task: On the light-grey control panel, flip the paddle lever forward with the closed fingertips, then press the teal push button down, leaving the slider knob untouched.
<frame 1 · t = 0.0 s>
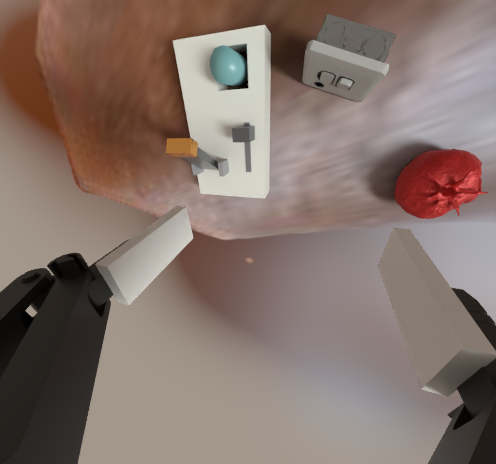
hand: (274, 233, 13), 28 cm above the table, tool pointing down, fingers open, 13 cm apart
slider: (243, 134, 31), point 6 cm above the table, slide at -2.5 cm
electrical switch: (338, 70, 29), on the table
lever: (198, 158, 32), point 9 cm above the table, hinge at -30.0°
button: (230, 68, 29), point 5 cm above the table, slide at 0.0 cm
pomegranate: (425, 177, 32), on the table
panel: (233, 127, 37), on the table
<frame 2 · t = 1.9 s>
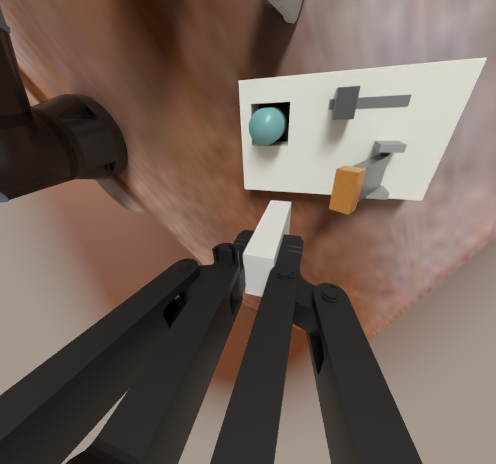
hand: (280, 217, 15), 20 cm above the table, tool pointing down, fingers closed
slider: (344, 103, 21), point 6 cm above the table, slide at -2.5 cm
lever: (364, 178, 21), point 9 cm above the table, hinge at -30.0°
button: (268, 125, 26), point 5 cm above the table, slide at 0.0 cm
panel: (330, 137, 28), on the table
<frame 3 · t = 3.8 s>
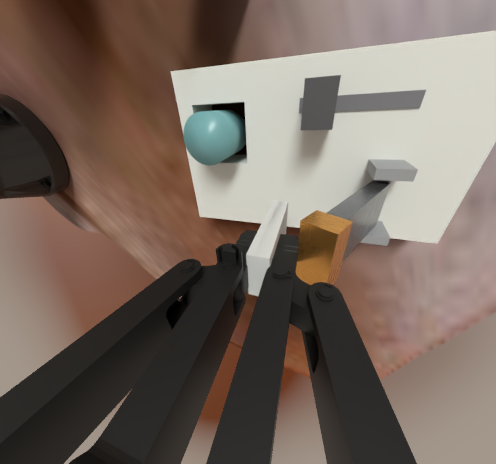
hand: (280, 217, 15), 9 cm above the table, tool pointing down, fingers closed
slider: (319, 104, 14), point 6 cm above the table, slide at -2.5 cm
lever: (353, 222, 14), point 9 cm above the table, hinge at -28.5°, touching gripper
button: (218, 136, 18), point 5 cm above the table, slide at 0.0 cm
panel: (309, 150, 20), on the table
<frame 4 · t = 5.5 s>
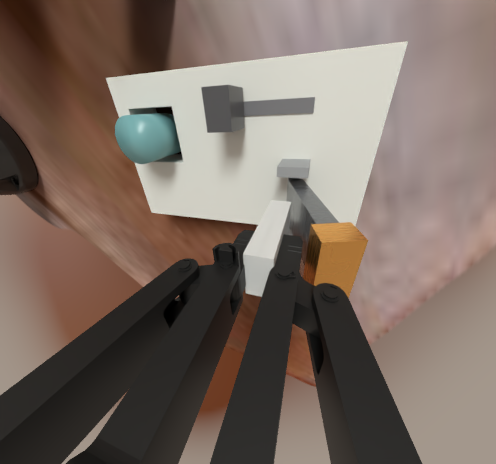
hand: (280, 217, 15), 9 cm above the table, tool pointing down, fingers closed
slider: (225, 109, 15), point 6 cm above the table, slide at -2.5 cm
lever: (306, 222, 14), point 10 cm above the table, hinge at 18.4°, touching gripper
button: (153, 137, 20), point 4 cm above the table, slide at 0.0 cm
panel: (245, 150, 22), on the table
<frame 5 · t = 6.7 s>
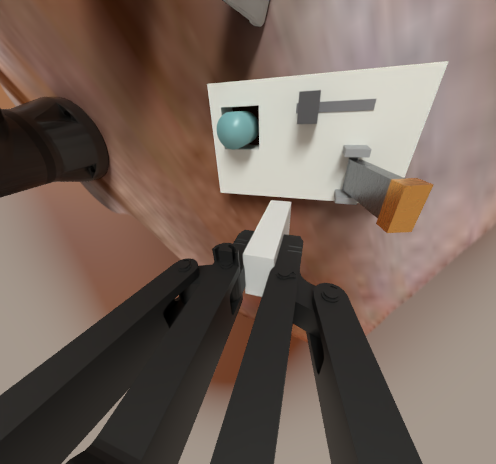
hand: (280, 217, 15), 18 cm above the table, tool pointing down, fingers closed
slider: (309, 107, 21), point 6 cm above the table, slide at -2.5 cm
lever: (371, 187, 20), point 10 cm above the table, hinge at 18.5°
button: (239, 129, 25), point 5 cm above the table, slide at 0.0 cm
panel: (304, 141, 28), on the table
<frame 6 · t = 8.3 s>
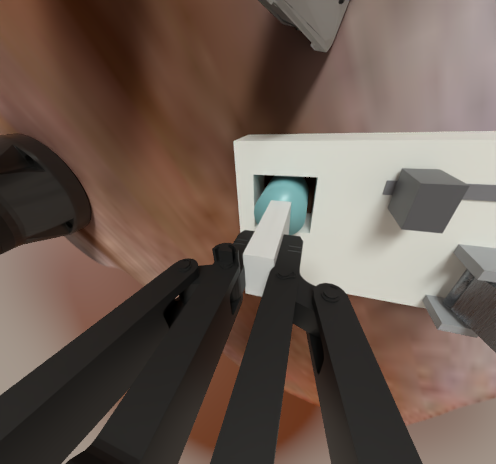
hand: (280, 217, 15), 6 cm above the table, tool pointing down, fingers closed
slider: (420, 198, 12), point 6 cm above the table, slide at -2.5 cm
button: (283, 202, 17), point 3 cm above the table, slide at 1.1 cm, touching gripper
panel: (371, 214, 19), on the table
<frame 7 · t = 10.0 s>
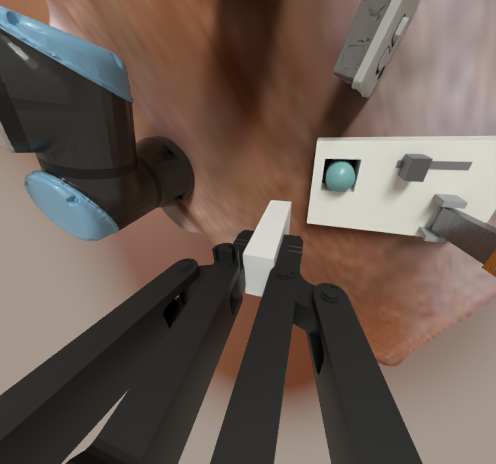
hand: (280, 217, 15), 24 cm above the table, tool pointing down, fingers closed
slider: (413, 167, 26), point 6 cm above the table, slide at -2.5 cm
electrical switch: (368, 53, 26), on the table
lever: (469, 235, 24), point 10 cm above the table, hinge at 18.5°
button: (339, 174, 31), point 3 cm above the table, slide at 1.3 cm
panel: (388, 183, 33), on the table
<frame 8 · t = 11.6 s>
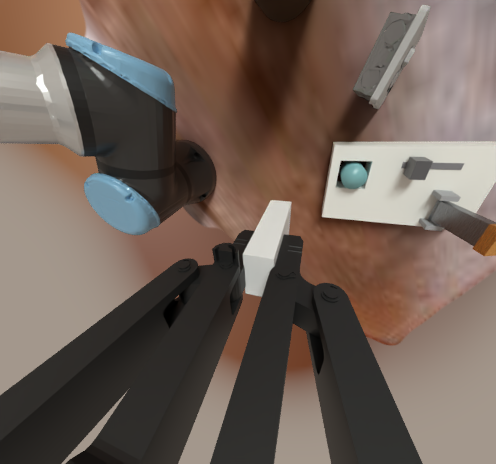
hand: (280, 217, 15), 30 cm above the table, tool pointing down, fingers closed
slider: (417, 168, 31), point 6 cm above the table, slide at -2.5 cm
electrical switch: (379, 72, 31), on the table
lever: (462, 223, 30), point 10 cm above the table, hinge at 18.5°
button: (352, 174, 36), point 3 cm above the table, slide at 1.3 cm
panel: (393, 181, 38), on the table
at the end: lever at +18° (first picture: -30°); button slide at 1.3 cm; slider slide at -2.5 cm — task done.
